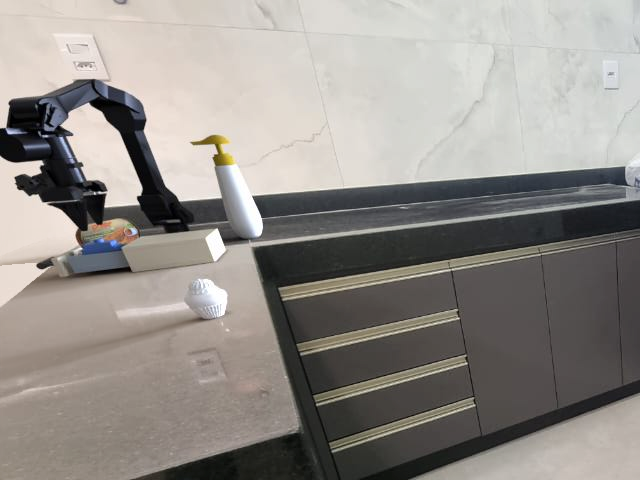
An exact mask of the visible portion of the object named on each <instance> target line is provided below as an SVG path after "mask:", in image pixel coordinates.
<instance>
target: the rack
mask: <svg viewBox="0 0 640 480" xmlns="http://www.w3.org/2000/svg"><path fill="white" fill-rule="evenodd" d="M127 244H129V243H126V244H122V246H125V245H127ZM82 249H83V248H82V247H81V246H79V247H74V248H72V249H69V250H68V251H65V252H63V253H61V254H59V255H56V256H50V257H47V258H46V259H44V260H41V261H39V262H37V263H36V265H35V266H36V268H37V269H38V270H46V269H47V268H50V267H54V268H55V270H56V272H57V274H58V276H59V277H60V278H65V277H68V276H70V275H72V274H81V273H90V272H97V271H106V270H114V269H122V268H129V267H130V266H129V263H128V261H127V259H126V257H125V255H124V253H123V251H116V252H107V253H99V254H90V255H83V254H82V252H81V250H82Z"/></svg>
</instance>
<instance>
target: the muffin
mask: <svg viewBox="0 0 640 480" xmlns="http://www.w3.org/2000/svg"><path fill="white" fill-rule="evenodd" d="M227 298H228V293H227V292H226V290H224V289H222V288H220V287H218V286H217V285H215V284H214V282H213V281H212V280H210V279H207V278H201V279H200V278H197V279H196V280H193V281H190V282H189V283H188V291H187V294H186V295H185V296H184V301H183V302H184V303H185V304H186V305H187V306H188V307H189V309H190V310H191V311H193V312H194V313H195V314H197V316H199V317H200V318H201V319H204V320H212V319H216V318H219V317H222V316H224V315H225V312H226V308H227V304H228V299H227Z"/></svg>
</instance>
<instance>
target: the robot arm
mask: <svg viewBox="0 0 640 480" xmlns="http://www.w3.org/2000/svg"><path fill="white" fill-rule="evenodd" d="M86 104H89V105H90V107H92V108H94V109H95V110H97V111H99V112H101V113H102V115H103V117H104V119H105V120H106V123H108V124H110V125H111V126H112V127H113V129H115V130H116V131H117V132H118V133H119V135H120V137H121V140H122V142H123V144H124V147H125V149H126V152H127V154H128V157H129V159H130V162H131V164H132V166H133V169H134V171H135V174H136V176H137V179H138V182H139V183H140V185H141V189H142V190H141V193H140V195H137V196H136V201H137V202H138V204H139V206H140V211H141V212H142V213H143V214H144V216H145V217H146V219H147V220H148V221H149V222H150V223H151V225H152V226H153V227H157V226H162V229H163V232H164V234H170V233H179V232H189V231H191V229H190V227H189V224H192V223H194V222H195V214H194V213H193V212H192V211H190V210H189V209H187V207H185V206H184V205H183V204H182V203H181V201H180V200H179V198H178V196H177V195H176V194H175V193H174V192H173V191H172V190H170V189H169V188H168V187H167V186H166V184H165V181H164V179H163V177H162V176H163V175H162V174H161V172H160V168H159V166H158V164H157V161H156V159H155V156H154V153H153V151H152V148H151V147H150V143H149V141H148V138H147V136H146V133H145V129H146V128H145V127H146V124H147V120H148V119H147V116H146V111H145V107H144V105H143V103H142V101H141V100H140V99H138V98H136V96H134V95H133V94H131V93H128V92H127V91H125V90H123V89H120V88H118V87H114V86H111V85H109V84H107V83H105V82H103V81H102V80H101V79H96V78H80V79H75V80H73V82H71V83H69V84H67V85H64V86H62V87H59V88H56V89H55V90H52V91H49V92H48V93H45V94H43V95H35V96H25V97H17V98H16V97H15V98H12V99H10V100H9V101H8V102H7V105H8V106H9V107H8V113H7V120H6V126H5V127H0V157H1V158H2V159H3V160H5V161H7V162H9V163H14V164H20V163H30V162H31V163H32V162H40V161H41V162H42V164H41V165H39V167H38V168H39V170H40V173H37V174H34V175H32V176H30V175H28V174H26V173H20V174H18V175H16V176H14V177H13V178H14V182H15V183H14V184H15V186H16V189H17V190H18V191H23V192H24V193H25V194H26V195H27V196H28V197H32V196H37V195H38V197H39V200H40V201H41V203H43V204H44V203H46V205H47V206H49V207H53V208H56V209H58V210H60V211H62V212H63V213H64V214H65V216H66V217H68V219H69V220H70V221H71V222H72V223H73V224H74V225H75V226H76V227H77V229H78V228H79V229H80V230H81V231H88V224H89V219H88V214H89V217H90V218H91V219H92V221H93V223H96V224H97V225H102V224H103V221H104V217H105V216H104V215H105V204H106V199H107V192H108V187H107V186H106V183H105V182H104V181H101V180H99V179H91V180H88V179H87V177H86V176H85V173H84V172H83V169H82V168H84V167H85V166H84V163H83V162H82V161H78V158H77V156H76V155H75V152H74V150H73V148H72V146H71V143H70V142H69V140H68V137H74V133H73V132H72V131H70V130H69V129H66V128H64V127H63V126H62V125H63V124H64V123H65V122H66V121H67V120H68V119H69V118H70V115H69V113H70V112H72V111H74V110H76V109H78V108H80V107H83V106H85V105H86Z"/></svg>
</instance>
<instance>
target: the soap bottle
mask: <svg viewBox="0 0 640 480" xmlns="http://www.w3.org/2000/svg"><path fill="white" fill-rule="evenodd" d="M189 143H190V144H191V145H192V146H208V145H209V146H210V145H214V147H215V149H216V152H217V153H214V154H213V156H212V157H211V158H212V160H213V164H214V167H213V169H214V173H215V177H216V180H217V184H218V188H219V191H220V196H221V199H222V203H223V207H224V211H225V216H226V219H227V221H228V224H229V227H231V229H232V230H233V232H234V233H235V234H236V235H237V236H238V237H240V238H241V239H243V240H244V239H245V240H251V239H252V240H253V239H256V238H259V237H260V236H261V235H262V233H263V219H262V216H261V213H260V211H259V209H258V206H257V205H256V203H255V200H254V198H253V196H252V194H251V191H250V190H249V187H248V185H247V183H246V182H245V179H244V177H243V175H242V173H241V171H240V168H239V167H238V165H237V164H236V162H235V160H234V157H233V155H230V153H225V151H224V149H223V146H222V145H225V144H231V143H232V142H231V140H230V139H228V138H227V137H225V136H223V135H219V134H210V135H209V136H206V137H205V138H204V139H202V140H196V141H189Z"/></svg>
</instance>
